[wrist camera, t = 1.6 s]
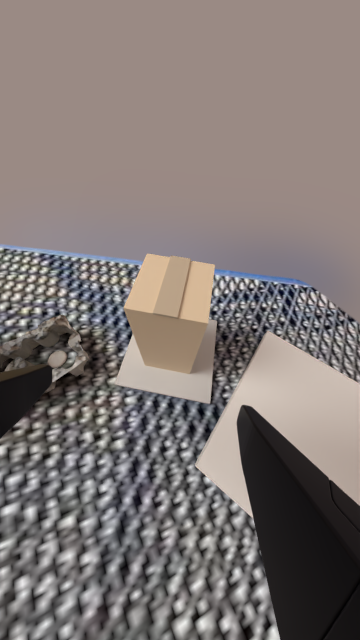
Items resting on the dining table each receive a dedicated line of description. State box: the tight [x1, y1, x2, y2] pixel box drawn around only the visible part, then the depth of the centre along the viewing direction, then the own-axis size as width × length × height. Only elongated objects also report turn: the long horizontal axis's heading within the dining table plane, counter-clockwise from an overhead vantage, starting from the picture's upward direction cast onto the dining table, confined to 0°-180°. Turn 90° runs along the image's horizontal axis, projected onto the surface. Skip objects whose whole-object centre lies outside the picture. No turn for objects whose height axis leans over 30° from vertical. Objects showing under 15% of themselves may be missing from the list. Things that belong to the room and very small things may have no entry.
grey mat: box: [115, 320, 217, 404], centre depth 23 cm, size 11×11×1 cm
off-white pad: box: [195, 331, 360, 519], centre depth 19 cm, size 18×14×1 cm
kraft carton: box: [124, 254, 215, 374], centre depth 18 cm, size 6×6×12 cm
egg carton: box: [0, 315, 89, 393], centre depth 20 cm, size 10×7×4 cm
